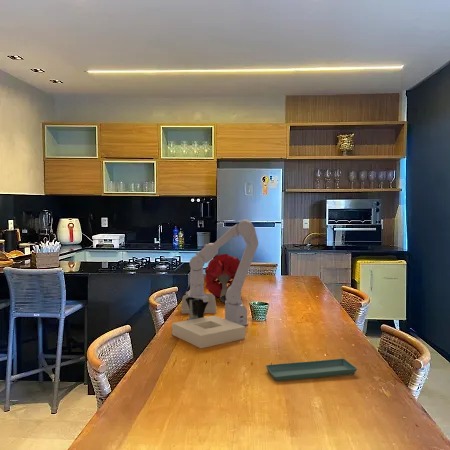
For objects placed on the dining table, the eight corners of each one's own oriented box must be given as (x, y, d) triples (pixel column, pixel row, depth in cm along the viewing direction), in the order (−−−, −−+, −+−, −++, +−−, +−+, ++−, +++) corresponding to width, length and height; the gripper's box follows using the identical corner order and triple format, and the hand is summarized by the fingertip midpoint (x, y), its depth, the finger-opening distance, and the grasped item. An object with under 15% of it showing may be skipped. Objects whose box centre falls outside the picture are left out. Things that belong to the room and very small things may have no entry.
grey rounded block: (180, 313, 207) (180, 291, 210) (180, 314, 212) (181, 293, 215) (217, 313, 208) (216, 291, 211) (216, 314, 213) (216, 292, 216)
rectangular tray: (274, 383, 130) (274, 375, 130) (265, 371, 139) (265, 363, 139) (358, 376, 135) (358, 368, 135) (343, 365, 144) (343, 358, 144)
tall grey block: (206, 323, 191) (206, 299, 191) (194, 325, 188) (194, 301, 187) (198, 320, 196) (198, 297, 196) (187, 322, 193) (187, 298, 192)
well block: (245, 338, 170) (245, 326, 170) (200, 348, 159) (200, 335, 158) (214, 326, 187) (214, 315, 186) (172, 334, 175) (172, 323, 174)
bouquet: (248, 313, 234) (243, 276, 260) (247, 278, 222) (242, 243, 247) (206, 316, 234) (205, 279, 259) (203, 281, 221) (202, 245, 246)
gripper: (179, 282, 195) (179, 313, 195) (198, 287, 183) (198, 320, 184) (193, 280, 199) (193, 311, 200) (212, 285, 187) (212, 318, 188)
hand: (196, 315), depth 192 cm, fingers open, 5 cm apart
